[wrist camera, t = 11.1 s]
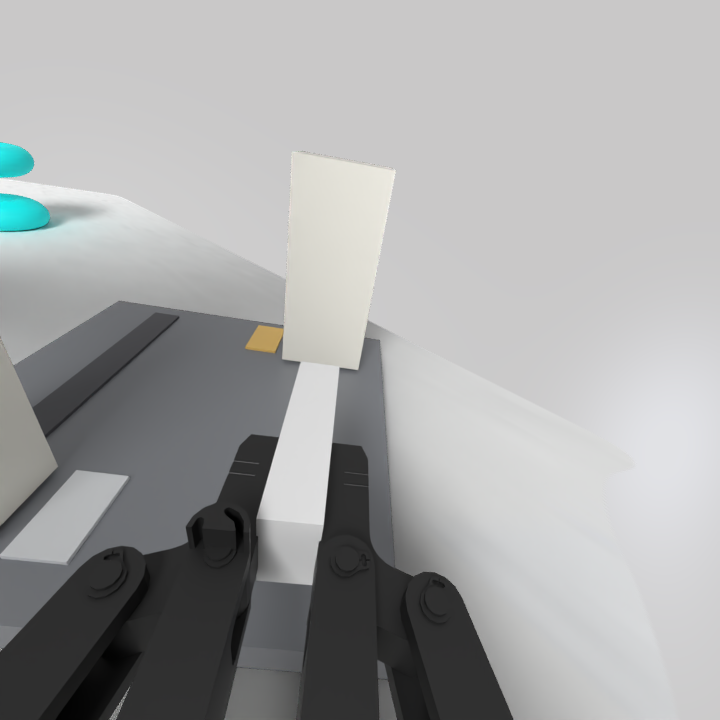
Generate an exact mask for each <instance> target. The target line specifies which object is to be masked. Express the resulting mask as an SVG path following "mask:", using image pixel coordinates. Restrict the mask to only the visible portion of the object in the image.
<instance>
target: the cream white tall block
mask: <svg viewBox="0 0 720 720" xmlns="http://www.w3.org/2000/svg"><path fill="white" fill-rule="evenodd" d="M395 173H396V171H395V170H394V169H393V168H390V167H385V166H380V165H375V164H369V163H364V162H358V161H353V160H348V159H342V158H337V157H331V156H326V155H320V154H315V153H310V152H305V151H298V152H297V151H296V152H292V163H291V183H290V204H289V225H288V247H287V268H286V269H287V270H286V289H285V310H284V331H283V352H282V359H284V360H291V361H298V362H301V361H303V362H311V363H318V364H325V365H333V366H340V368H347V369H354V370H358V368H359V363H360V358H361V352H362V347H363V342H364V336H365V331H366V326H367V321H368V315H369V310H370V305H371V299H372V294H373V289H374V283H375V278H376V273H377V268H378V262H379V257H380V252H381V247H382V241H383V236H384V231H385V225H386V220H387V215H388V210H389V204H390V199H391V193H392V188H393V183H394V177H395Z"/></svg>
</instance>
